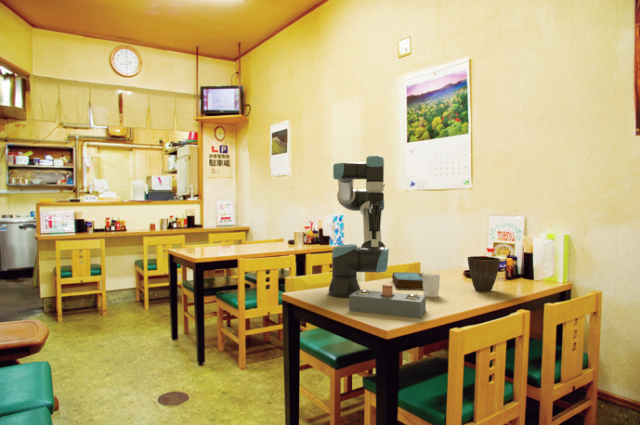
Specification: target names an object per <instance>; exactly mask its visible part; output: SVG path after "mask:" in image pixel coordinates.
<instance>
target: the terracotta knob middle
mask: <svg viewBox="0 0 640 425" xmlns="http://www.w3.org/2000/svg"><path fill="white" fill-rule="evenodd" d="M393 288H394V286H393V285H392V284H382V289H381V292H382V297H393V293H394V292H393Z"/></svg>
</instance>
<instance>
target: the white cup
mask: <svg viewBox="0 0 640 425" xmlns="http://www.w3.org/2000/svg"><path fill="white" fill-rule="evenodd" d="M422 273H423V274H422V279H423V289H422V290H423V291H422V292H423V293H422V294H423V295H425V296H426V298H437V297H439V294H440V292H439V291H440V283H441V282H440V278H441V275H440V273H435V272H434V273H433V272H422Z"/></svg>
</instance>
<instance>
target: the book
mask: <svg viewBox="0 0 640 425" xmlns="http://www.w3.org/2000/svg"><path fill="white" fill-rule="evenodd" d="M423 273H424V272H397V271H396V272H392V277H391V278H392V279H391V280H392V282H393V283H394V284H395V286H396V288H397V289H399V290H402V289H404V290H405V289H406V290H408V289H409V290H423V279H422V274H423Z"/></svg>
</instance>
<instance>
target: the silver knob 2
mask: <svg viewBox="0 0 640 425" xmlns="http://www.w3.org/2000/svg"><path fill="white" fill-rule="evenodd" d="M406 294H407V299H415V300H418V295H419V294H417V293H406Z"/></svg>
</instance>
